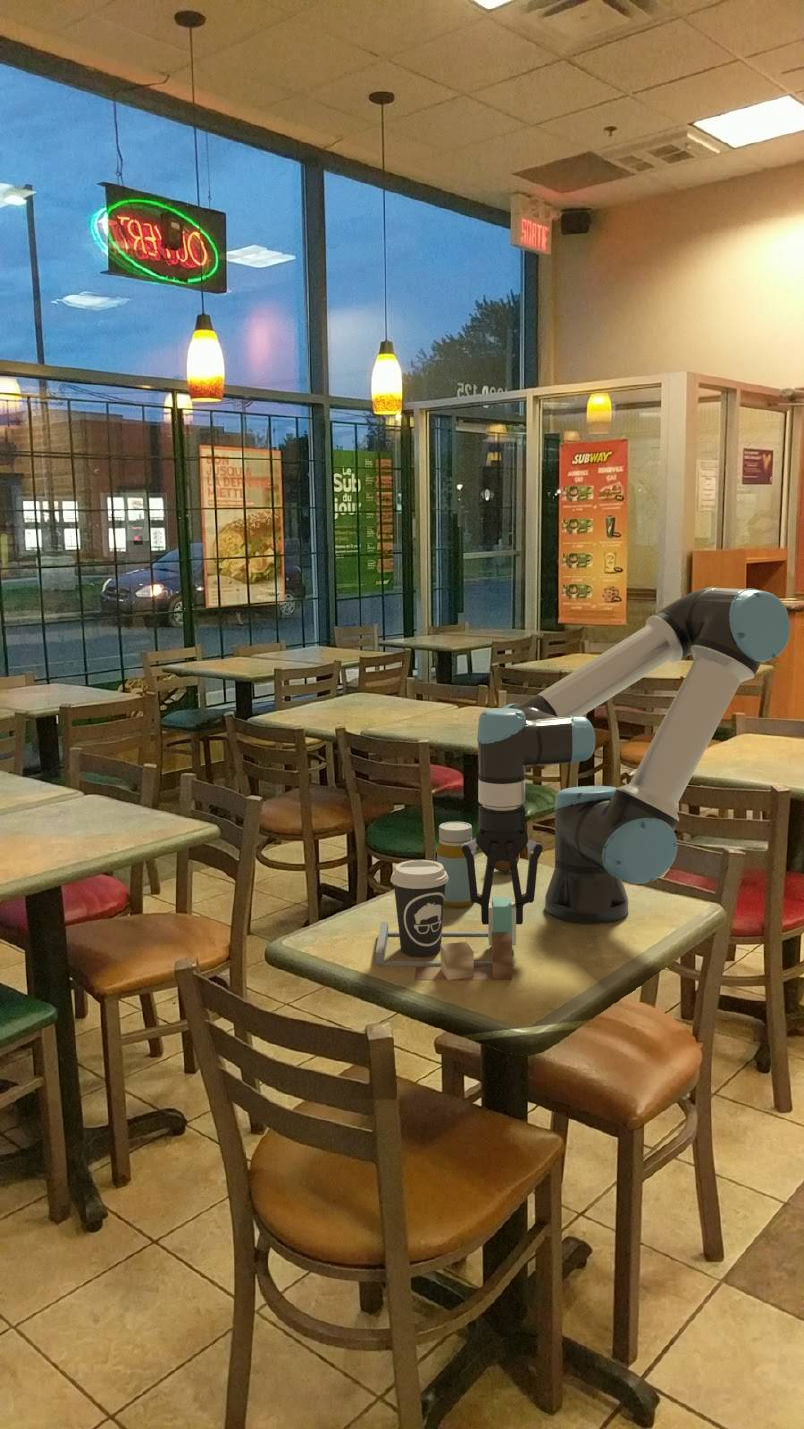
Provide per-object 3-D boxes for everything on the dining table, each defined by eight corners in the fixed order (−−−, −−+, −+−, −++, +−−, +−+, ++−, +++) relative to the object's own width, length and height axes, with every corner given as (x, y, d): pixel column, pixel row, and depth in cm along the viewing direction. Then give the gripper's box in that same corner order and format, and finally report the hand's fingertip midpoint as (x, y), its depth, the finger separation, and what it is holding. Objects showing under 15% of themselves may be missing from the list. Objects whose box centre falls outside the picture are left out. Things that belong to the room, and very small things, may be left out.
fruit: (520, 868, 219) (520, 831, 218) (518, 878, 213) (518, 839, 212) (490, 867, 220) (490, 830, 219) (487, 876, 214) (487, 838, 213)
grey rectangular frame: (508, 938, 181) (508, 888, 180) (513, 970, 168) (513, 916, 166) (381, 938, 182) (380, 888, 181) (375, 970, 169) (374, 916, 167)
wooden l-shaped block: (510, 971, 167) (510, 930, 166) (512, 984, 162) (512, 942, 161) (416, 971, 168) (415, 930, 167) (415, 984, 163) (414, 942, 162)
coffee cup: (456, 946, 178) (455, 860, 176) (439, 968, 169) (438, 878, 167) (403, 940, 181) (401, 856, 179) (384, 961, 172) (381, 873, 170)
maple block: (466, 966, 168) (466, 941, 167) (473, 977, 164) (473, 951, 163) (440, 969, 167) (440, 944, 166) (447, 980, 163) (447, 954, 162)
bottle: (481, 900, 201) (480, 823, 198) (463, 911, 195) (462, 832, 192) (449, 894, 204) (448, 819, 202) (430, 904, 199) (429, 827, 196)
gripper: (549, 798, 174) (548, 933, 178) (452, 799, 174) (453, 933, 178) (553, 810, 166) (553, 951, 170) (452, 810, 167) (453, 951, 171)
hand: (502, 942), depth 174 cm, fingers closed on grey rectangular frame, 3 cm apart
